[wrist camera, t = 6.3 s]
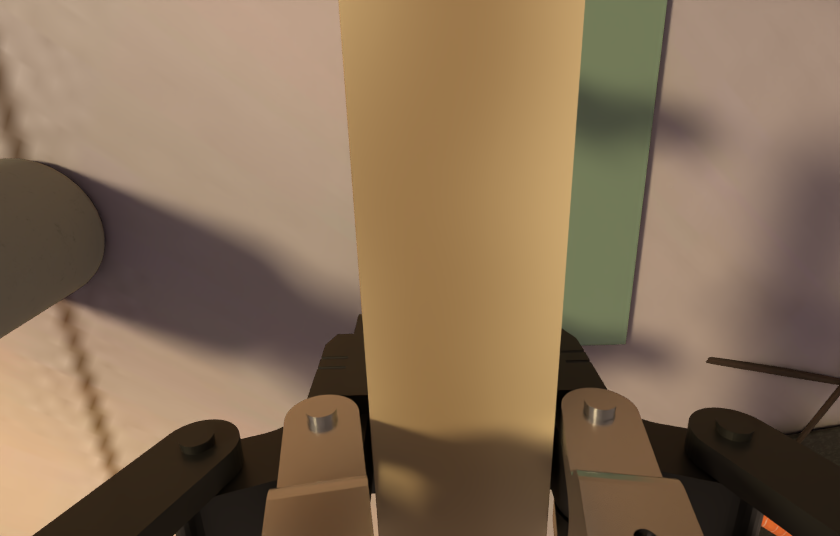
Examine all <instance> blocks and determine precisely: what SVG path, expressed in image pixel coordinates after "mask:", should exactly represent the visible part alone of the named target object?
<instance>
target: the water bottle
mask: <svg viewBox="0 0 840 536" xmlns="http://www.w3.org/2000/svg"><path fill="white" fill-rule="evenodd" d="M103 254H104V231H103V226H102V222H101V220H100V217H99V215H98V212H97V210H96V208H95V207H94V205H93V204H92V202H91V200H90V199H89V197H88V196H87V195H86V194H85V193H84V192H83V191H82V190H81V188H80V187H79V186H78V185H76V184H75V183H74V182H73V181H71V180H70V179H69V178H68V177H67V176H65V175H63V174H62V173H60V172H58V171H57V170H55V169H53V168H51V167H49V166H46V165H44V164H41V163H38V162H35V161H30V160H25V159H6V158H3V159H0V338H2V337H3V336H5V335H7V334H8V333H10V332H11V331H13V330H14V329H16V328H18V327H19V326H21V325H22V324H24V323H26V322H27V321H29V320H30V319H32V318H33V317H35V316H37V315H38V314H40V313H41V312H43V311H45V310H46V309H48V308H49V307H51V306H52V305H54V304H56V303H57V302H59V301H60V300H62V299H64V298H65V297H67V296H68V295H70V294H71V293H73V292H75V291H76V290H78V289H79V288H81V287H82V286H83V285H85V284H86V283H88V281H89V280H90V279H91V278H92V277H93V276H94V274H95V273H96V272H97V270H98V268H99V266H100V264H101V262H102V258H103Z"/></svg>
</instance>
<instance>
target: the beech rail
mask: <svg viewBox="0 0 840 536" xmlns="http://www.w3.org/2000/svg"><path fill="white" fill-rule="evenodd" d="M338 1H339V14H340V27H341V41H342V54H343V67H344V81H345V94H346V107H347V120H348V134H349V147H350V160H351V174H352V187H353V200H354V214H355V227H356V240H357V253H358V267H359V280H360V293H361V307H362V320H363V333H364V347H365V360H366V373H367V386H368V400H369V413H370V426H371V440H372V453H373V466H374V480H375V493H376V506H377V519H378V533H379V536H546V535H547V521H548V507H549V494H550V480H551V466H552V452H553V438H554V424H555V411H556V397H557V383H558V369H559V355H560V341H561V328H562V314H563V300H564V286H565V272H566V259H567V245H568V231H569V217H570V203H571V189H572V176H573V162H574V148H575V134H576V120H577V106H578V93H579V79H580V65H581V51H582V37H583V24H584V10H585V0H338Z"/></svg>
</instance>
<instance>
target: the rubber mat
mask: <svg viewBox="0 0 840 536" xmlns="http://www.w3.org/2000/svg"><path fill="white" fill-rule="evenodd" d="M666 7H667V0H585V10H584V24H583V37H582V51H581V65H580V79H579V93H578V106H577V120H576V134H575V148H574V162H573V176H572V189H571V203H570V217H569V231H568V245H567V259H566V272H565V286H564V300H563V314H562V329H564V330H565V331H567V332H568V333H570V334H571V335H573V336H574V337H575V338H577V340H578V341H579V343H580V345H615V344H626V336H627V328H628V320H629V312H630V304H631V295H632V287H633V279H634V271H635V262H636V254H637V246H638V238H639V229H640V221H641V213H642V205H643V196H644V188H645V180H646V172H647V164H648V155H649V147H650V139H651V131H652V122H653V114H654V106H655V98H656V89H657V81H658V73H659V65H660V56H661V48H662V40H663V32H664V24H665V15H666Z"/></svg>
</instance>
